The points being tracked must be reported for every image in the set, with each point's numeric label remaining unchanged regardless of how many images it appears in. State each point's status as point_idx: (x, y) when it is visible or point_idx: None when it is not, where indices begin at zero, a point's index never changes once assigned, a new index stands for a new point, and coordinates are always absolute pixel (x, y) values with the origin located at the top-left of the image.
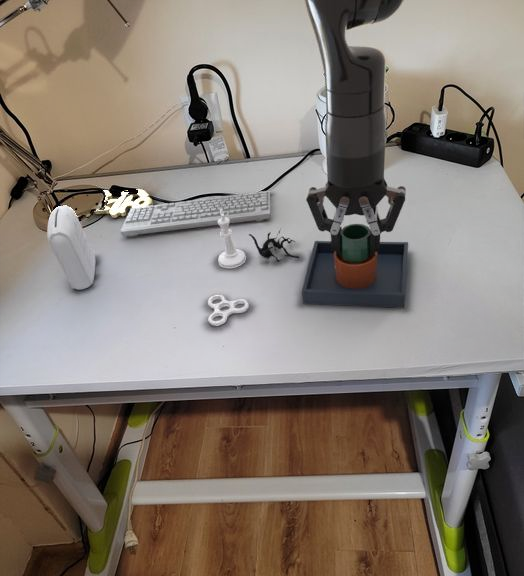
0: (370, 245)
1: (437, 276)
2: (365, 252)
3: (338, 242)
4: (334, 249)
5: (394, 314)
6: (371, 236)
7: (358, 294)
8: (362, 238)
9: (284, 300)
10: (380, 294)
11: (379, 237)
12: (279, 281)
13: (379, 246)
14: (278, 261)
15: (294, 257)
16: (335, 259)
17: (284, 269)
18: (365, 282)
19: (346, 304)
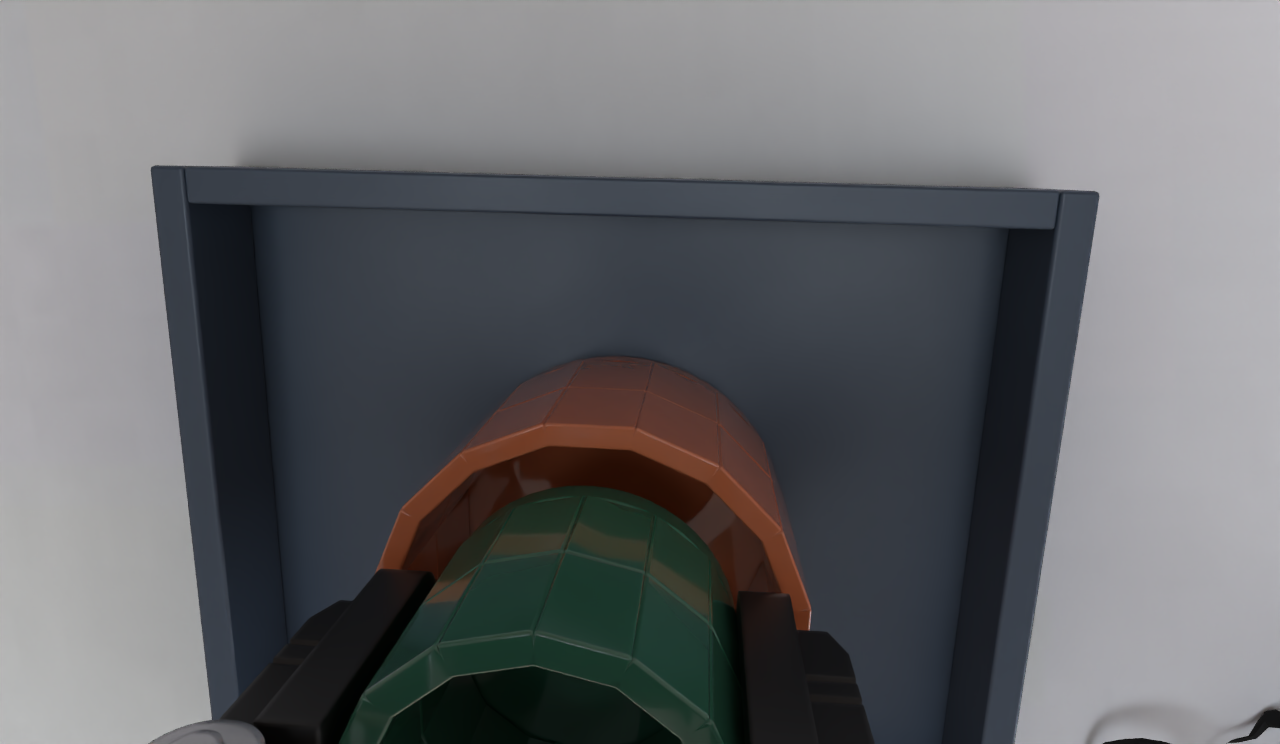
0: (373, 634)
1: (61, 522)
2: (451, 569)
3: (767, 682)
4: (811, 643)
5: (294, 91)
6: (303, 719)
7: (550, 177)
8: (417, 679)
9: (1204, 228)
10: (356, 173)
11: (226, 718)
12: (1254, 473)
13: (298, 646)
14: (1269, 715)
15: (1143, 739)
16: (789, 545)
17: (1210, 621)
18: (519, 387)
19: (667, 178)
